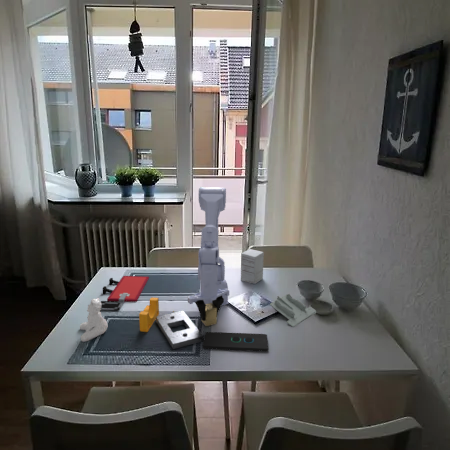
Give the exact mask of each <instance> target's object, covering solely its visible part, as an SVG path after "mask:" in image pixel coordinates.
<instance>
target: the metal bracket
mask: <svg viewBox="0 0 450 450" xmlns="http://www.w3.org/2000/svg"><path fill="white" fill-rule="evenodd" d="M269 306H271V307H272V308H273V309H275V310H276V311H277V312H278V313H280V314H281V315H282V316H283V317H284V318H286V319H288V320H287V321H286V323H287V324H288V325H289V326H290V327H292V328H295V327H297V326H298V325H299V324H300V323H302V322H303V321H304V320H306V319H308V318H309V317H311V316H313V315H315V314H317V310H316V309H314V308H313V307H312V306H308V307H307V306H306V305H305V304H304V303H302V302H301V301H299V300H298V299H296V298H293V296H292V295H291V294H290V293H288V294H285V295H283V296H281V297H280V296H279V295H278V296H277V298H276V300H274V301H272V302H271V303H270V304H269Z"/></svg>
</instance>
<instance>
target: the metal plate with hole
mask: <svg viewBox="0 0 450 450" xmlns="http://www.w3.org/2000/svg"><path fill="white" fill-rule="evenodd" d="M155 322H156V324H157V326H158V327H159V328H160V330H161V332H162V333H163V335H164V337H165V338H166V340H167V342H168V343H169V344H170V346H171V348H172V349H173V350H175V349H179V348H184V347H186V346H190V345H193V344H197V343H201V342H203V341H204V335H203V334H202V332H201V331H200V330H199V329H198V327H197V325H196V324H195V323H194V322H193V321H192V320H191V319H190V317H189V316H188V315H187V314H186V312H185V311H184V310H180V311H175V312H171V313H166V314H162V315H158V316H157V317H156V320H155ZM178 326H185V328H186V329H182V330H176V331H174V332H173V331H172V329H171V328H174V327H178Z"/></svg>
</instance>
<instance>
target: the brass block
mask: <svg viewBox="0 0 450 450" xmlns="http://www.w3.org/2000/svg"><path fill="white" fill-rule="evenodd" d="M217 319H218V316H217V308H216V306H215V305H214V304H213V303H208V304H206V309H205V321H203V320H202V319H201V318H200V320H201V322H202V323H203V324H204V325H205V327H209V326H213V325H217V322H218V321H217Z"/></svg>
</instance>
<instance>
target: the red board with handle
mask: <svg viewBox="0 0 450 450" xmlns="http://www.w3.org/2000/svg"><path fill="white" fill-rule="evenodd" d="M149 279H150V277H149V276H144V275H143V276H142V275H141V276H140V275H139V276H138V275H123V276H122V278H121V279H120V280H119V281H118V280H114V278H113V277H110V278H109V281H108V283H109V286H112V285H113V284H114V285H116V286H115V287H114V288H113V289H110V288H107V286H103V287H102V294H103V295H107V293H109V295H108V297H107V299H106V300H100V302H101V304H102V305H101V310H106V311H107V310H108V311H109V310H110V311H113V310H114V311H117V310H118V311H120V309H121V307H122V305H123V304H124V303H126V302H128V303H136V302H138V300H139V298H140V296H141V294H142V292H143V290H144V288H145V286H146V285H147V283H148V280H149Z"/></svg>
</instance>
